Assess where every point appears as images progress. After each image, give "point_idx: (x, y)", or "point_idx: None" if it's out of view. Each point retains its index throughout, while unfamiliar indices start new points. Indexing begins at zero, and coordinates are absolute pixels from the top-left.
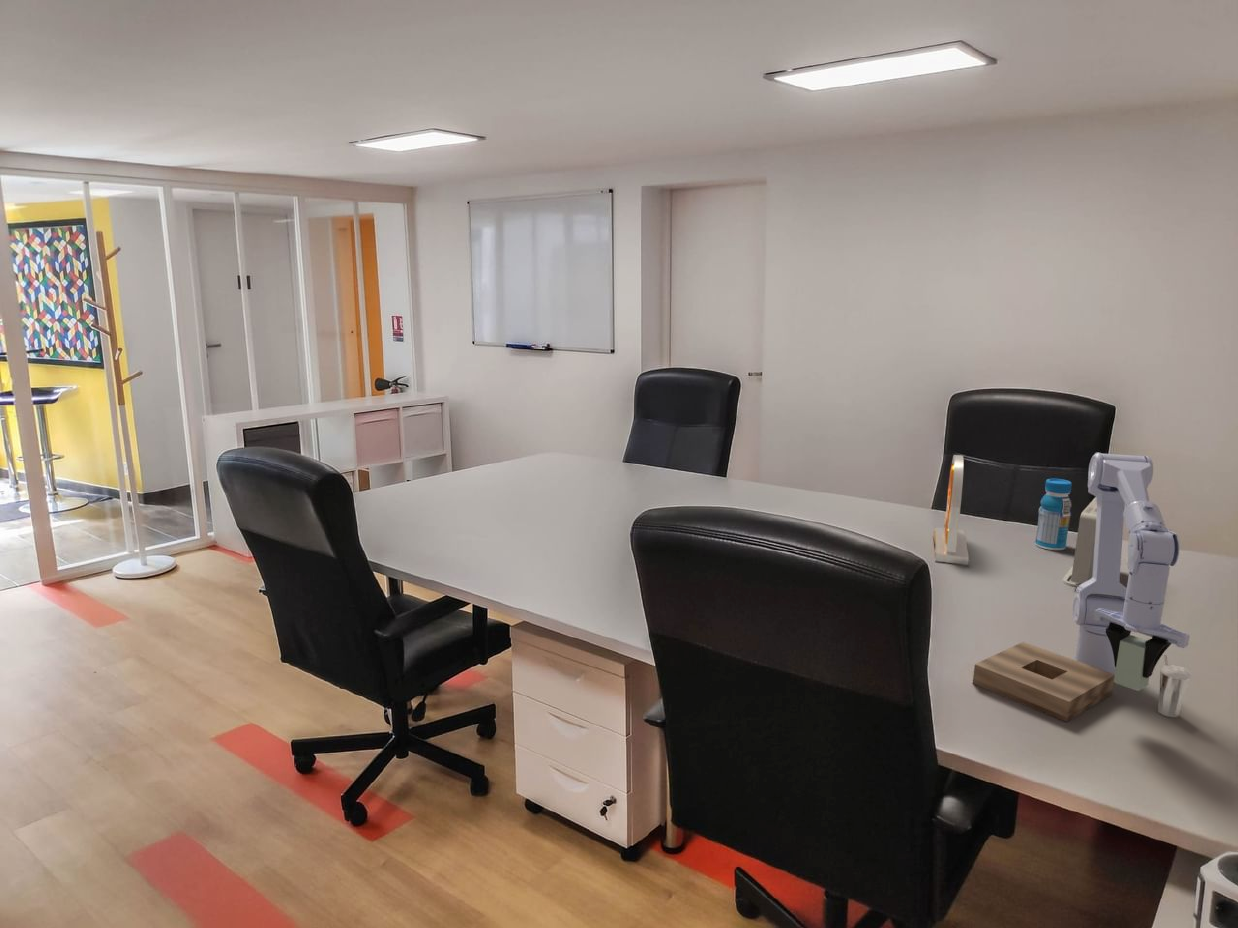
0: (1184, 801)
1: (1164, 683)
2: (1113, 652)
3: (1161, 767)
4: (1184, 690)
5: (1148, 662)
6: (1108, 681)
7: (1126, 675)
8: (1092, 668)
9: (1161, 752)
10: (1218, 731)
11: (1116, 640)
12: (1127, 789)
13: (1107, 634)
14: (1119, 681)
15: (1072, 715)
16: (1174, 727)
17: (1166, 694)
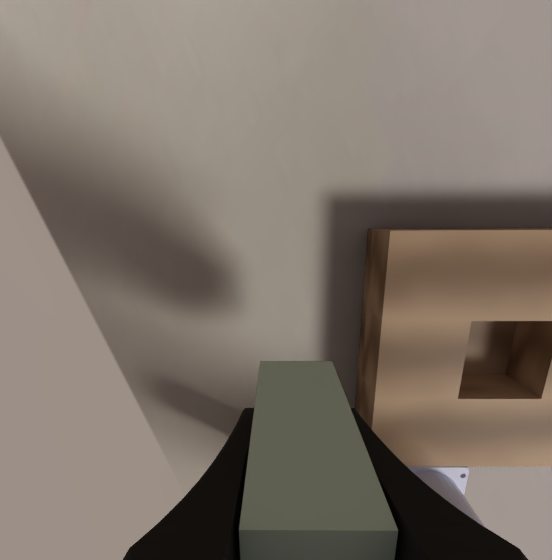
0: (62, 99)
1: None
2: (387, 448)
3: (158, 206)
4: None
5: (228, 456)
6: None
7: (302, 384)
8: (418, 457)
9: (188, 270)
10: (170, 435)
11: (416, 517)
12: (147, 33)
13: (498, 540)
14: (317, 366)
15: (368, 257)
16: (221, 389)
17: None
